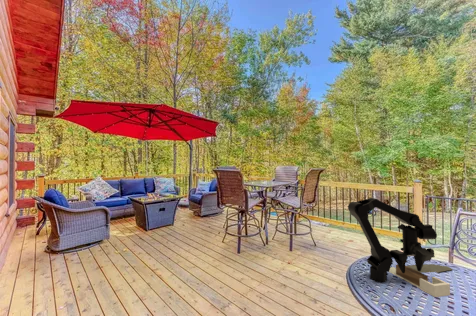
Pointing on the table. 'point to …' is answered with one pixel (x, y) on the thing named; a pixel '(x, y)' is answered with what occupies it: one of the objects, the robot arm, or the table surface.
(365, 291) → the table surface
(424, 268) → the stone slab
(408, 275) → the slat
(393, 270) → the board
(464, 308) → the table surface
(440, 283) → the end cap
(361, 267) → the table surface
